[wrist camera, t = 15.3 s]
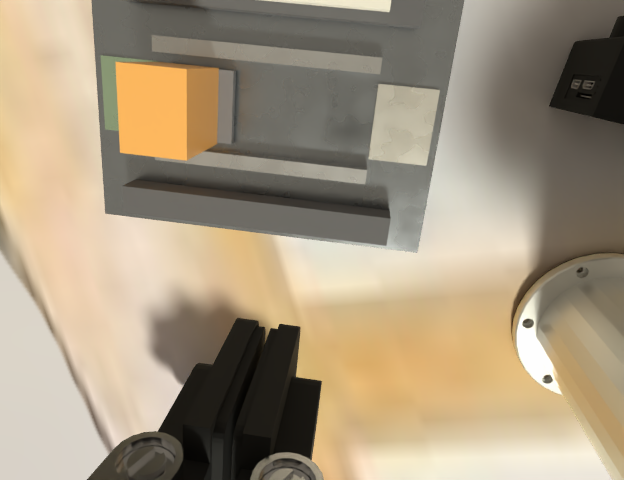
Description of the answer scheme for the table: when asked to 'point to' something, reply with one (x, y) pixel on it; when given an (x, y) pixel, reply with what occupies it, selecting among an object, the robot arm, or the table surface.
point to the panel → (293, 106)
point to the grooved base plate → (270, 209)
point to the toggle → (174, 108)
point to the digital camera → (594, 78)
